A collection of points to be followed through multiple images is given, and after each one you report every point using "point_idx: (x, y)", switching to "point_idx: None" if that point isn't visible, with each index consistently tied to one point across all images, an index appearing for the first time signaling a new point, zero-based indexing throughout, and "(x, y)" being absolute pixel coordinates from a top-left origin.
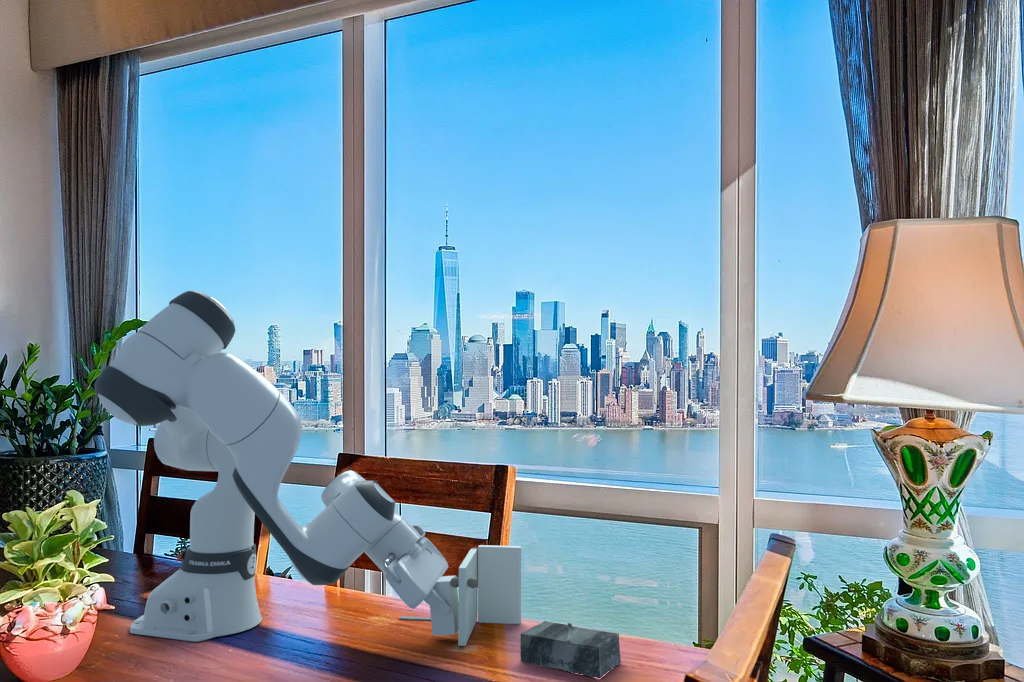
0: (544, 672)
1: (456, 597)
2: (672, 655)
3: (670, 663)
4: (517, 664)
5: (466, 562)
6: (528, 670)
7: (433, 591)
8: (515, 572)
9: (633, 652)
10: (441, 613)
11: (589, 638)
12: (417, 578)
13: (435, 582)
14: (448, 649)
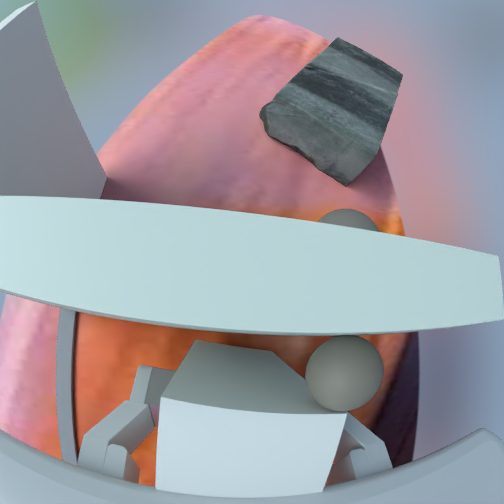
0: (381, 157)
1: (209, 366)
2: (280, 28)
3: (306, 36)
4: (363, 195)
5: (340, 264)
6: (381, 180)
7: (377, 462)
8: (50, 90)
9: (275, 47)
10: None
11: (370, 68)
12: (488, 497)
13: (342, 489)
14: (297, 361)
